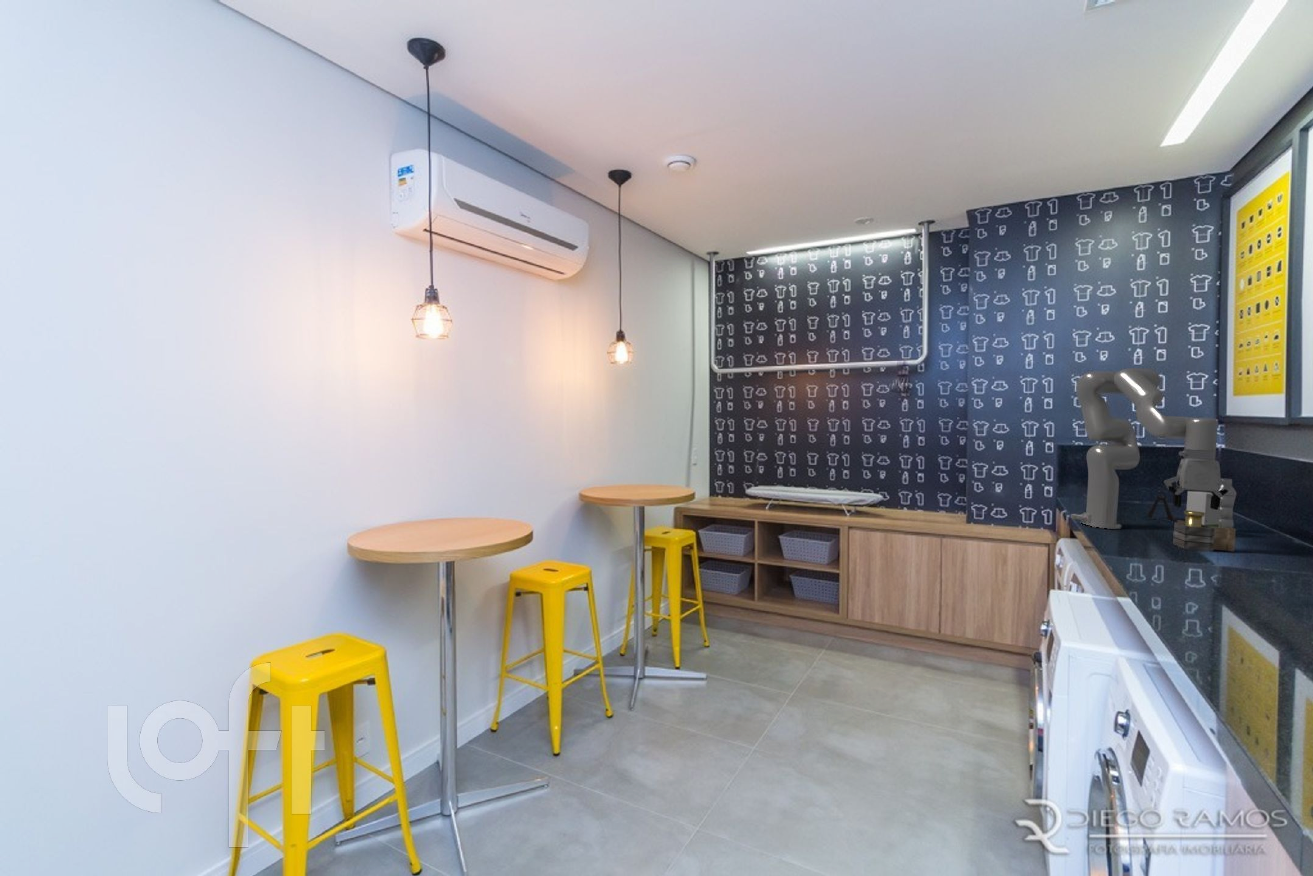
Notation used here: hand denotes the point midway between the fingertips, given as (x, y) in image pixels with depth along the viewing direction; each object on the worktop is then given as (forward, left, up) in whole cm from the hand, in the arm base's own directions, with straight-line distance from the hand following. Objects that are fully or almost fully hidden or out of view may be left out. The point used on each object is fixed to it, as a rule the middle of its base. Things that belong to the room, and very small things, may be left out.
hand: (1195, 507), depth 194 cm
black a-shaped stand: (+14, +62, -14) cm, 65 cm away
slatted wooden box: (0, +3, -13) cm, 14 cm away
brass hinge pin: (0, 0, -13) cm, 13 cm away
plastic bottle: (+26, +43, -14) cm, 52 cm away
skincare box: (+15, +31, -14) cm, 37 cm away
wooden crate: (+3, 0, -13) cm, 13 cm away
